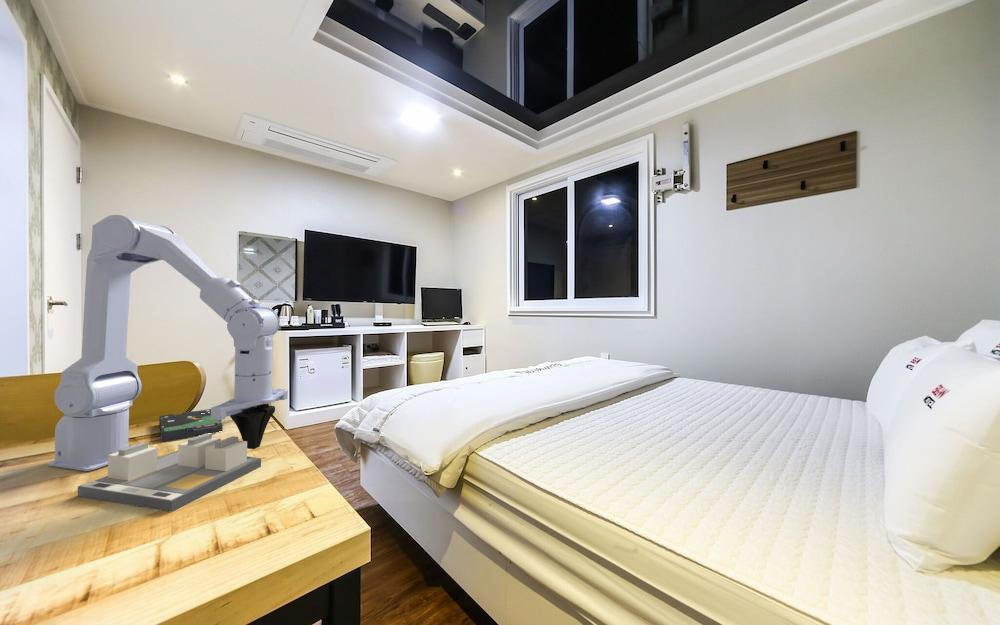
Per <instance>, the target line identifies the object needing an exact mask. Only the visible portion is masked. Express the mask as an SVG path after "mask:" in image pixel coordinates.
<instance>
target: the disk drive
mask: <svg viewBox="0 0 1000 625" xmlns="http://www.w3.org/2000/svg"><path fill="white" fill-rule="evenodd" d="M208 412H210V413H208ZM201 413H205V414H201ZM158 419H159V420H158V421H159V422H158V425H159V427H158V428H159V430H160V431H159V432H160V440H161V441H160V442H161V443H165V442H166V443H167V442H172V441H178V440H182V439H189V438H188V437H190V438H194V437H193V436H195V437H197V436H198V435H203V434H206V433H207V434H208V433H213V432H219V431H222V432H223V427H224V426H223V423H222V422H223V421H222V420H223V419H222V420H218V419H211V408H206V409H200V410H192V411H186V412H185V411H184V412H183V413H179V414H173V413H170V414H165V415H164V414H163V415H159V418H158ZM219 433H220V432H219ZM213 434H214V433H213Z"/></svg>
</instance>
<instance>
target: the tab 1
mask: <svg viewBox="0 0 1000 625" xmlns="http://www.w3.org/2000/svg"><path fill="white" fill-rule="evenodd" d="M158 448H159V447H152V446H149V443H147V442H139V443H137V444H136V443H135V444H133V445H130V446H129V445H128V447H126V448H123V449H120V450H119V451H118V452H116V453H113V454H110V455H108V465H107V476H108V478H114V479H121V480H128V481H129V480H131V479H134V478H136V477H139V476H141V475H144V474H147V473H149V472H152V471H154V470H157V458H158V454H159V453H158Z"/></svg>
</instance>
